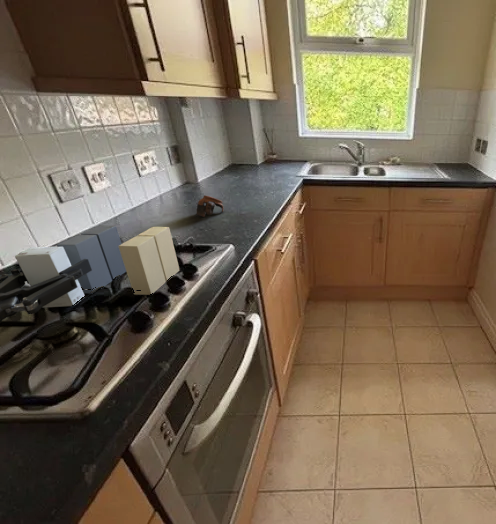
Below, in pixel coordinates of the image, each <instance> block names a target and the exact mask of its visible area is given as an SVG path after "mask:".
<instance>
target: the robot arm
mask: <svg viewBox="0 0 496 524" xmlns="http://www.w3.org/2000/svg"><path fill="white" fill-rule="evenodd" d="M90 271H92V269H91V266H90V263H89V261H88V259H83V260H82V261H80V262H78V263H76V264H74V265H72V266H70V267H69V268H67V269H65V270H63V271H61V272H59V276H56V277H53V278H51V279H48V280H46V281H43V282H40V283H38V284H35V285H32V286H30V284H29V282H28V280H27V278H26V277H25V275H24V273H23V271H22V272H20V269H16V268H15V269H11V270H10V273H11V275H9V274H8V273H3V274H0V324H1V323H2V321H3V320H4V319H6V318H8V317H12V316H14V315H16V314H17V313H18V312H26V313H27V315H29V316H30V315H34V314H36V313H37V312H39V311H40V310H42V307H43V306H45V305H47V304H49V303H51V302H52V301H54V300H56V299H58V298H59V297H61V296H63V295H65V294H67V293H68V292H70V291H72V290H74V289H76V288H77V284H76V282H75V280H77V279H78V278H80V277H82V276H83V275H85V274H87V273H88V272H90ZM26 283H27V284H28V285H29V286H27V287H24V286H25V285H26ZM23 287H24V288H23Z"/></svg>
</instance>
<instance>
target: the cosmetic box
mask: <svg viewBox="0 0 496 524" xmlns="http://www.w3.org/2000/svg"><path fill="white" fill-rule="evenodd" d="M14 258H15V260H16V262H17V263H18V265H19V268H20V269H21V271H22V272H23V273H24V275H25V277H26V278H27V280H28V282H29V284H28V285H29V287H30V286H32V285H35V284H38V283H40V282H43V281H46V280H48V279H51V278H53V277H56V276H59V272H61V271H63V270H65V269H67V268H69V267H70V266H71V264H70V261H69V259H68V257H67V255H66V252H65V250H64V248H63V247H57V246H43V247H42V246H41V247H28V248H27V249H25V250H23V251H21V252H19V253H17V254H15V255H14ZM75 282H76V284H77V288H76V289H74V290H72V291H70V292H68V293H67V294H65V295H63V296H61V297H59V298H58V299H56V300H54V301H52V302H51V303H49V304H47V305H45V306H43V307H42V308H43V309H44V308H59V307H73V306H72V305H74V304H75V303H76V302H77V301H79V300H80V299H81V298H82V297H84V296H85V293H83V291H82V288H81V286H80V284H79V282H78V279H77V280H75ZM84 298H85V297H84ZM80 301H81V300H80ZM80 301H79V302H80ZM75 305H76V304H75ZM75 305H74V306H75ZM42 308H41V309H42Z"/></svg>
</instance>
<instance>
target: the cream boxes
mask: <svg viewBox="0 0 496 524" xmlns="http://www.w3.org/2000/svg"><path fill="white" fill-rule="evenodd" d="M118 247H119V250H120V253H121V256H122V259H123V262H124V265H125V268H126V275H127V278H128V280H129V283H130V286H131V289H132V288H133V289H134V290H135V291H134V292H135V293H133V295H139V296H141V295H143V296H147V295H148V296H151V295H150V294H152V293H153V294H154V293H156V291H158V290H159V289H160V288H161V287H162V286H163V285H164V284H166V282H168V281H169V280H170V279H171V278H172V277H171V276H173V275H174V276H175V275H176V274H177V273H178V272H180V266H179V262H178V258H177V253H176V250H175V245H174V242H173V236H172V233H171V228H170V226H152V227H150V228H148V229H146V230H144V231H143V232H141V233H139V234H137V235H135V236H134V237H132V238H130V239H128V240H126V241H124V242H122V244H121V245H119V246H118ZM174 276H173V277H174ZM170 277H171V278H170ZM169 278H170V279H169ZM168 279H169V280H168ZM167 280H168V281H167ZM136 290H141V291H136ZM153 294H152V295H153Z"/></svg>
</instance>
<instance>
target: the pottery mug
mask: <svg viewBox="0 0 496 524" xmlns="http://www.w3.org/2000/svg"><path fill="white" fill-rule="evenodd" d="M223 204H224V202H223V201H222V200H221V199H218V198H215V197H213V196H210V195H203V197H202V198H200V199H199V200H198V202H197V205H196V215H197V216H200V217H204V218H205V217H206V215H208V216H211V215H213V213H214V209H215V207H218V208H220V209H221V213H223V212H224V205H223Z"/></svg>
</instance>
